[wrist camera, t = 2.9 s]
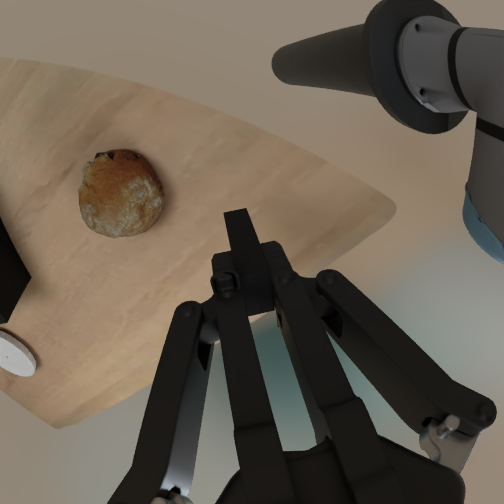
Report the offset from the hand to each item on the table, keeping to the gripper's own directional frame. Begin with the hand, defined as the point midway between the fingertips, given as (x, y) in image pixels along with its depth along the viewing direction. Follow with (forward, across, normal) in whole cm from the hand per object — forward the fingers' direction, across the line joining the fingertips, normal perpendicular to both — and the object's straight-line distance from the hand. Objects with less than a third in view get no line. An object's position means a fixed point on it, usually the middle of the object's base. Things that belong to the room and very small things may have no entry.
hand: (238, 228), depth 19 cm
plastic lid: (+16, -52, -24) cm, 59 cm away
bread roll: (+15, -12, 0) cm, 19 cm away
